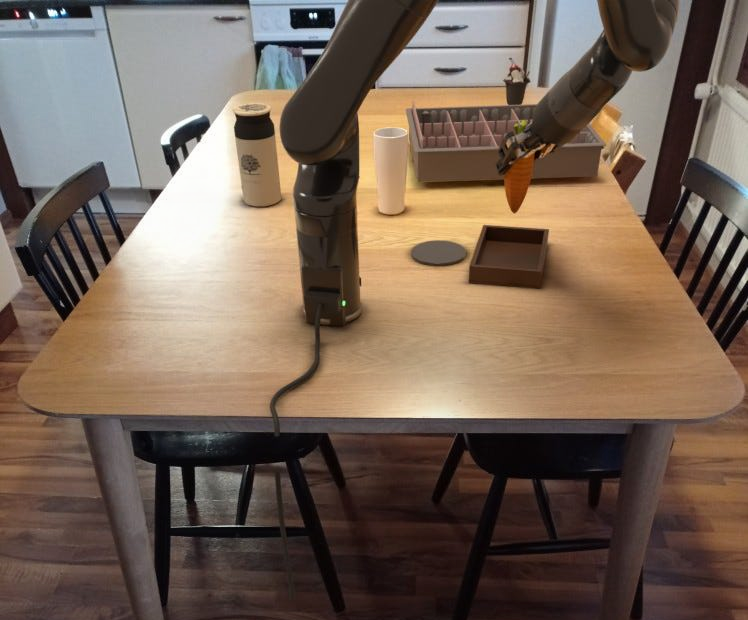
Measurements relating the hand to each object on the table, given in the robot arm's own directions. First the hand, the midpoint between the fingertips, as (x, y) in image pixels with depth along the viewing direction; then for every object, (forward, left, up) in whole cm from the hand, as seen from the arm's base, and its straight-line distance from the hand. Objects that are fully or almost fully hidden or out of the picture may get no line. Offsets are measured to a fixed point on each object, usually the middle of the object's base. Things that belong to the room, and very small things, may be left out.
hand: (511, 166), depth 131 cm
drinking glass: (+17, +25, -15) cm, 34 cm away
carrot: (-1, -1, -7) cm, 8 cm away
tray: (-4, -1, -15) cm, 16 cm away
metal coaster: (-2, +12, -15) cm, 19 cm away
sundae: (+81, +7, -15) cm, 83 cm away
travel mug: (+18, +53, -15) cm, 58 cm away
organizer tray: (+49, +7, -15) cm, 52 cm away
